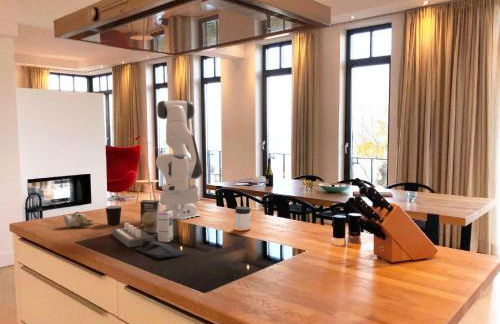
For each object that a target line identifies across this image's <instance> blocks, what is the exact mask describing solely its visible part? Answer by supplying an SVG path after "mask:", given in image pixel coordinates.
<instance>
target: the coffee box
mask: <svg viewBox="0 0 500 324" xmlns="http://www.w3.org/2000/svg"><path fill="white" fill-rule="evenodd" d="M159 211H160V200H156V199H155V200H153V199H152V200H150V199H149V200H147V199H143V200H141V202H140V219H139V220H140V221H139V222H140V224H139V225H140V228H139V229H141V230H143V231H144V232H146V233H154V234H155V233H157V234H158V214H157V212H159Z"/></svg>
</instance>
